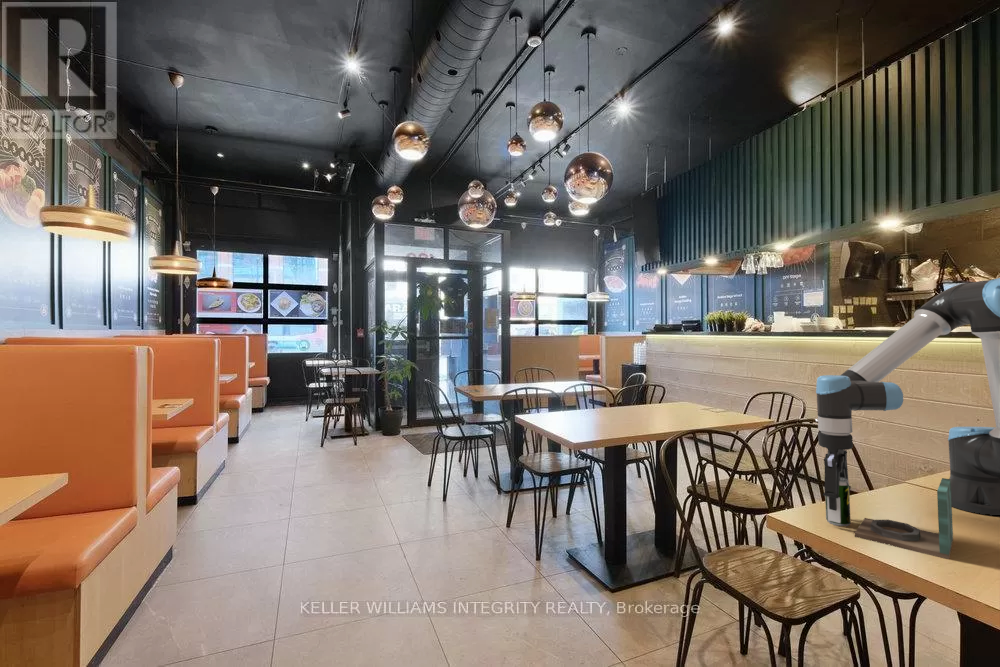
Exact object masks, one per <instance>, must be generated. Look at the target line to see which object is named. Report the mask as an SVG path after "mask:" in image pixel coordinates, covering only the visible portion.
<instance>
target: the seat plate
mask: <svg viewBox="0 0 1000 667" xmlns="http://www.w3.org/2000/svg"><path fill="white" fill-rule="evenodd" d="M936 492H937V493H936V495H937V496H936V497H937V519H938V533H937V532H932V531H927V530H924V529H919V528H917V527H915V526H912V524H909V523H906V522H901V521H897V520H891V519H872V518H867V517H864V519H863V520H862V521H861V523H860V525H858V527H857V528H856V530H855V531H854V537H855V538H859V537H860V538H859V539H864V540H868V541H871V540H872V541H873V542H875V541H877V542H876V543H879V542H880V543H881V544H884V543H885V544H884V545H888V544H890V545H889V546H892V545H893V546H892V547H896V546H897V548H901V549H904V550H910V551H913V552H917V553H921V554H926V555H930V556H933V557H938V558H941V559H942V558H943V559H946V560H949V559H950V557H951V552H952V547H953V543H954V530H953V528H954V527H953V507H952V501H951V479H949V478H944V477H942V478H941V480H940V482H939V484H938V488H937V490H936ZM872 541H871V542H872Z"/></svg>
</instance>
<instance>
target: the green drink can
mask: <svg viewBox="0 0 1000 667" xmlns="http://www.w3.org/2000/svg"><path fill="white" fill-rule="evenodd" d="M848 482H849V478H848V479H846V478H843V477H840V479H839V498H840V512H841V523H837V522H833V521H829V520H828V512H827V496H824V497H825V499H824V500H825V501H824V502H825V520H826V522H827V523H828V522H829V524H831V525H832V524H833V526H836V527H842V526H846V527H849V526H850V525H851V502H850V490H849V486H850V482H849V483H848Z"/></svg>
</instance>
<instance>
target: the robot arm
mask: <svg viewBox="0 0 1000 667" xmlns="http://www.w3.org/2000/svg"><path fill="white" fill-rule="evenodd" d="M966 325H969V326H970V331H971V334H972V335H975V337H978V338H979V339H980V340H981V341H980V342H981V347H982V353H983V358H984V364H985V370H986V376H987V381H988V386H989V387H988V388H989V393H990V394H989V395H990V400H991V404H992V409H993V415H994V422H995V427H994V426H993V427H992V426H952V427H951V428H950V429H949V431H948V438H947V441H948V455H949V457H948V458H949V473H950V475H949V478H948V479H951V501H952V508H955V509H958V510H962V511H965V512H969V513H974V512H975V514H979V513H980V514H979V515H985V514H990V515H989V516H992V515H1000V277H997V278H995V279H987V280H986V279H985V280H980V281H979V280H978V281H971V282H965V283H964V282H963V283H959V284H956V285H954V286H951V287H949V288H946V289H945V290H944V291H941V292H939V294H937V295H935V296H934V297H933V298H931V299H930V300H928V301H927V302H926V303H924V304H923V305H922V306H921V307H919V308H918V309H916V310H915V311H914V313H913V318H911V319H910V320H909V321H907V323H905V324H904V325H902V326H901V327H900V328H899V329H898V330H896V331H895V332H894V333H892V334H891V335H889V337H887V338H886V339H884V340H883V341H882V342H881V343H879V344H878V345H877V346H876V347H874V348H873V349H872V350H871V351H869V352H868V353H866V355H864V356H863V357H862V358H860V359H859V360H858V361H857V362H855V364H853V365H852V366H850V367H849V368H848V369H847V370H845V371H844V372H842V373H841V374H840V375H836V374H835V375H834V374H825V375H820V376H818V377H817V379H816V384H815V385H816V387H815V388H816V389H815V393H816V404H817V405H816V406H817V407H816V408H817V409H816V410H817V411H816V412H817V418H815V422H816V423H817V429H818V430H819V432H818V433H817V435H818V436H817V438H818V442H817V444H818V446H820V447H822V448H826V450H827V453H825V456H824V458H823V464H824V465H823V466H824V492H823V493H822V496H824V497H825V496H827V512H828V520H829V521H833V522H837V523H841V512H840V498H839V479H840V477H843V478H846V479H848V480H849V472H848V456H847V455H848V451H847V450H851V449H853V447H854V444H853V435H852V434H851V433H853V418H852V417H853V415H852V414H853V412H854V411H883V412H886V411H896V410H898V409H900V408H901V407H902V405H903V403H904V393H903V390H902V388H901V387H900V386H899V385H898V384H897V383H894V382H892V381H891V382H890V381H889V382H888V381H887V382H885V381H882V380H883V379H884V378H886V377H887V376H888V375H889V374H891V373H892V372H894V371H895V370H896V369H897V368H899V367H900V366H902V364H904V363H905V362H907V361H908V360H909V359H910V358H912V357H913V356H914V355H916V354H917V353H918V352H920V351H921V350H922V349H923V348H924V347H926V346H927V345H929V344H930V343H932V341H934V340H936V338H938V337H939V336H945V335H948V334H950V333H951V332H953V331H955V329H957V328H960V327H963V326H966ZM852 411H853V412H852ZM848 483H849V484H850V481H848ZM851 488H852V487H851V486H850V485H849V491H850V490H851Z"/></svg>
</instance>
